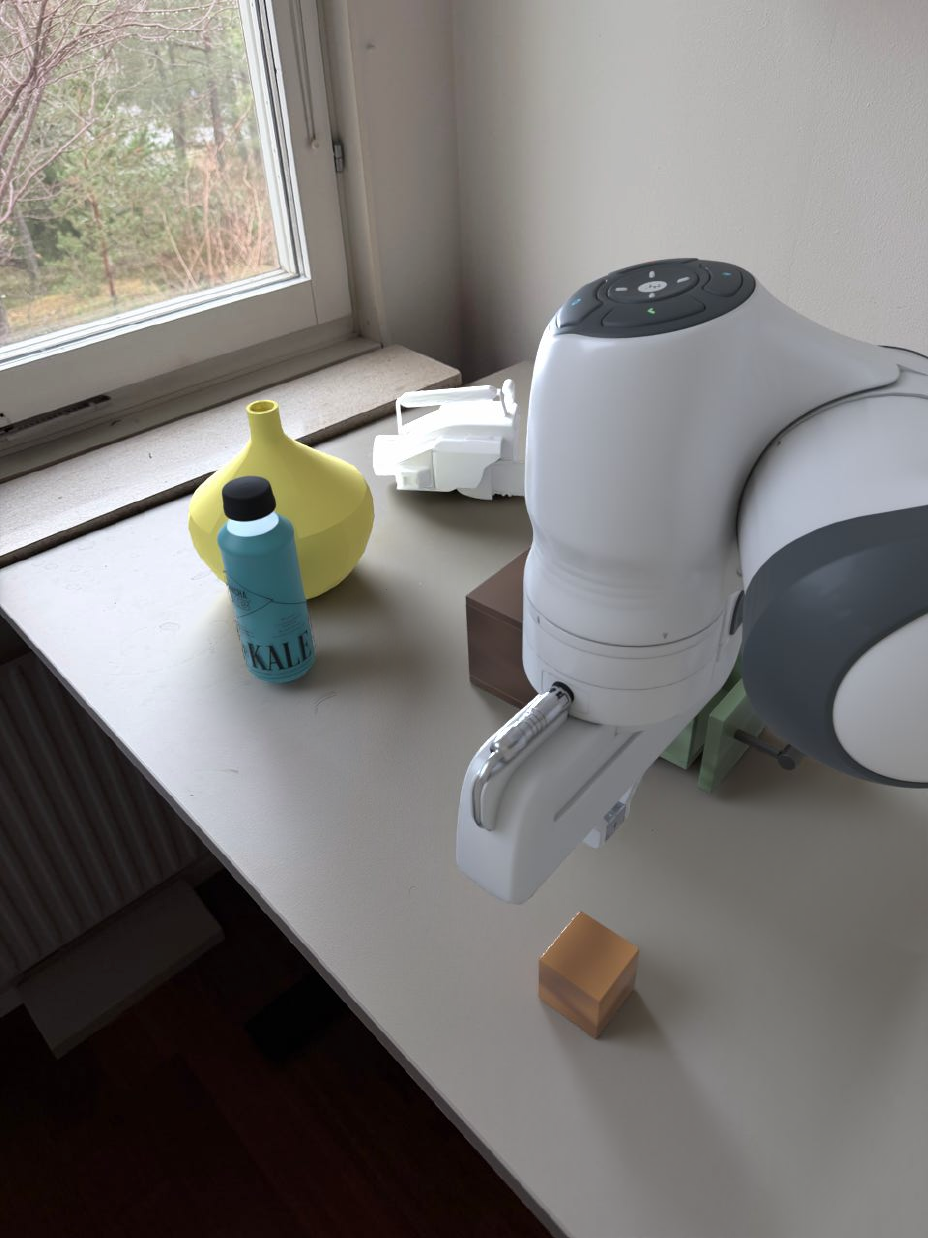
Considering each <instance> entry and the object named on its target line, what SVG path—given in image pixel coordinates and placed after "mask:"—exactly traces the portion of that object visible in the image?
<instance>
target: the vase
mask: <svg viewBox="0 0 928 1238" xmlns="http://www.w3.org/2000/svg"><path fill="white" fill-rule="evenodd" d="M245 411H246V416H247V422H248V426H249V431H250V437H249V440H248V441H247V443H246V445H245V446H244V447H243V448H242V449H241V450H240V451H239V452H237V454H235V456H233V457H232V458H231V459H230V460H229V461H228V462H227V463H225V464H224V465H223V466H221V467H220V468H219V469H217V471H215V472H214V473H213V474H212V475H210V476H209V477H207V479H206V480H205V481H204V482H203V483H202V484H200V485H199V487H198V488H197V489H196V490H195V491H194V493H193V495H192V497H191V500H190V501H189V506H188V513H187V528H188V529H187V530H188V532H189V535H190V538H191V542H192V545H193V548H194V549H195V551H196V553H197V555H198V556H199V558H200V560H202V562H203V563H204V564H205V565H206V566H207V567H208V568H209V570H210V571H211V572H212V573H213V574H214V575H215V576H216V578H218V580H220V581H222V583H224V584H226V583H227V584H228V582H227V578H226V574H225V572H223V571H225V569H224V564H223V559H222V555H221V551H220V548H219V546H218V542H217V536H218V533H219V531H220V529H221V528H222V527H223V525H224V524H225V523H226V522H227V521H228V520H229V518H228V517H227V516H226V515H225V513H224V509H223V499H222V489H223V487H224V485H225V484H227V483H228V482H229V481H231V480H233V479H236V478H239V477H243V476H259V477H263V478H265V479H267V480H268V481H269V483H270V485H271V488H272V491H273V495H274V497H275V500H276V508H275V510H274V511H273V512H276V513H278V514H280V515H282V516H284V517H285V518H287V519H288V520H289V521H290V522H291V524H292V525H293V528H294V538H295V544H296V550H297V555H298V561H299V567H300V572H301V578H302V584H303V589H304V595H305V598H306V601H307V599H308V600H310V599H313V598H316V597H319V596H320V595H322V594H324V593H326V592H328V591H329V590H332V589H333V588H335V587H337V586H338V585H339V584H340V583H341V582H343V581H344V580H345V579H347V577H348V576H349V574H350V573H351V572H352V571H353V570H354V569H355V567H356V566H357V565H358V563H359V562H360V560H361V559H362V557H363V556H364V554H365V552H366V548H367V546H368V543H369V540H370V537H371V534H372V531H373V527H374V522H375V516H376V515H375V504H374V497H373V494H372V491H371V488H370V485H369V484H368V482H367V480H366V479H365V477H364V475H363V474H362V473H361V472H360V471H359V470H358V469H357V468H356V467H355V466H354V465H353V464H351V463H349V462H347V461H345V460H343V459H341V458H339V457H336V456H333V455H331V454H328V453H325V452H323V451H320V450H317V449H315V448H313V447H310V446H308V445H306V444H303V443H301V442H299V441H297V440H294V439H292V438H291V437H290V436H289V435H288V434H286V433H285V432H284V429H283V426H282V419H281V415H280V410H279V403H277V401H275V400H272V399H261V400H255V401H252V402H250V403H249V404H247V405H246V407H245ZM225 580H226V582H225Z"/></svg>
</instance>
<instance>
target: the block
mask: <svg viewBox="0 0 928 1238" xmlns="http://www.w3.org/2000/svg"><path fill="white" fill-rule="evenodd" d="M640 951H641V950H640V948H639V946H638V947H637V946H636V945H634V944H633V943H631V942H630V941H628V940H627V939H625V938H624V937H622V936H621V935H619V934H618V933H616V932H615V931H613V930H611V929H610V928H609V927H607V926H605V925H603V924H602V923H600V922H599V921H598V920H596V919H595V918H593V917H591V916H590V915H588V914H587V913H585V912H584V911H582V910H578V912H577V913H576V914H575V915H574V916H573V918H572V919H571V920H570V922H569V923H568V924H567V925H566V926H565V928H564V929H563V930H562V931H561V932H560V933H559V935H557V937H556V938H555V939H554V941H552V943H551V944H550V945H549V946H548V947H547V949H546V950H545V951H544V952H543V954H542V955H541V956H540V957H539V958H538V991H537V997H538V999H539V1000H541V1001H542V1002H544V1003H545V1004H546V1005H548V1006H549V1007H550V1008H552V1009H553V1010H555V1011H556V1012H557V1013H558V1014H560V1015H562V1017H564V1018H566V1019H567V1020H568V1021H569V1022H571V1023H573V1024H574V1025H575V1026H577V1027H578V1028H580V1029H581V1030H582V1031H584V1032H585V1034H588V1036H590V1037H592V1038H593V1039H595V1040H597V1039H598V1038H599V1037H600V1035H601V1034H602V1032H604V1030H605V1029H606V1027H607V1026H608V1025H609V1023H610V1022H611V1020H613V1018H614V1017H615V1015H616V1013H618V1011H619V1010H620V1008H621V1007H622V1006H623V1004H625V1001H626V1000H627V999H628V997H629V996H630V995H631V993H632V992H633V991H634V990H635V986H636V980H637V972H638V965H639V957H640Z"/></svg>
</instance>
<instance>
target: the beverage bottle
mask: <svg viewBox="0 0 928 1238" xmlns="http://www.w3.org/2000/svg"><path fill="white" fill-rule="evenodd" d="M222 499H223V509H224V513H225V515H226V516H227V517H228V518H229V520H228V521H227V522H226V523H225V524H224V525H223V527H222V528H221V529H220V531H219V533H218V536H217V542H218V546H219V548H220V551H221V555H222V559H223V564H224V569H225V571H223V572H225V574H226V578H227V582H228V584H227V583H225V585H226V587H227V591H228V592H229V596H230V597H229V599H230V602H231V604H232V606H233V607H231V608H232V610H233V612H234V615H235V626H236V631H237V633H239V634H237V636H238V639H239V641H240V642H241V646H240V649H241V652H242V657H243V660H245V667H246V668H247V670H248V671H249V672H250V673H251V675H252V676H253V677H255V678H256V679H258V680H260V681H261V682H265V683H271V684H274V683H275V684H281V683H286V682H287V683H288V682H291V681H294V680H296V679H298V678H300V677H303V675H304V674H306V673H307V672H309V671H310V669H311V668H312V666H313V664H314V662H315V659H316V652H318V651H317V649H316V647H317V645H316V644H315V643H316V640H315V639H314V638H315V632H314V628H313V624H311V622H312V616H311V611H310V608H309V607H308V602H309V599H307V600H306V598H305V595H304V589H303V584H302V578H301V572H300V567H299V561H298V555H297V550H296V544H295V538H294V528H293V525H292V524H291V522H290V521H289V520H288V519H287V518H285V517H284V516H282V515H280V514H278V513H276V512H273V511H274V510H275V508H276V500H275V497H274V495H273V491H272V488H271V485H270V483H269V481H268V480H267V479H265V478H263V477H259V476H243V477H239V478H236V479H233V480H231V481H229V482H228V483H227V484H225V485H224V487H223V489H222ZM225 582H226V580H225Z"/></svg>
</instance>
